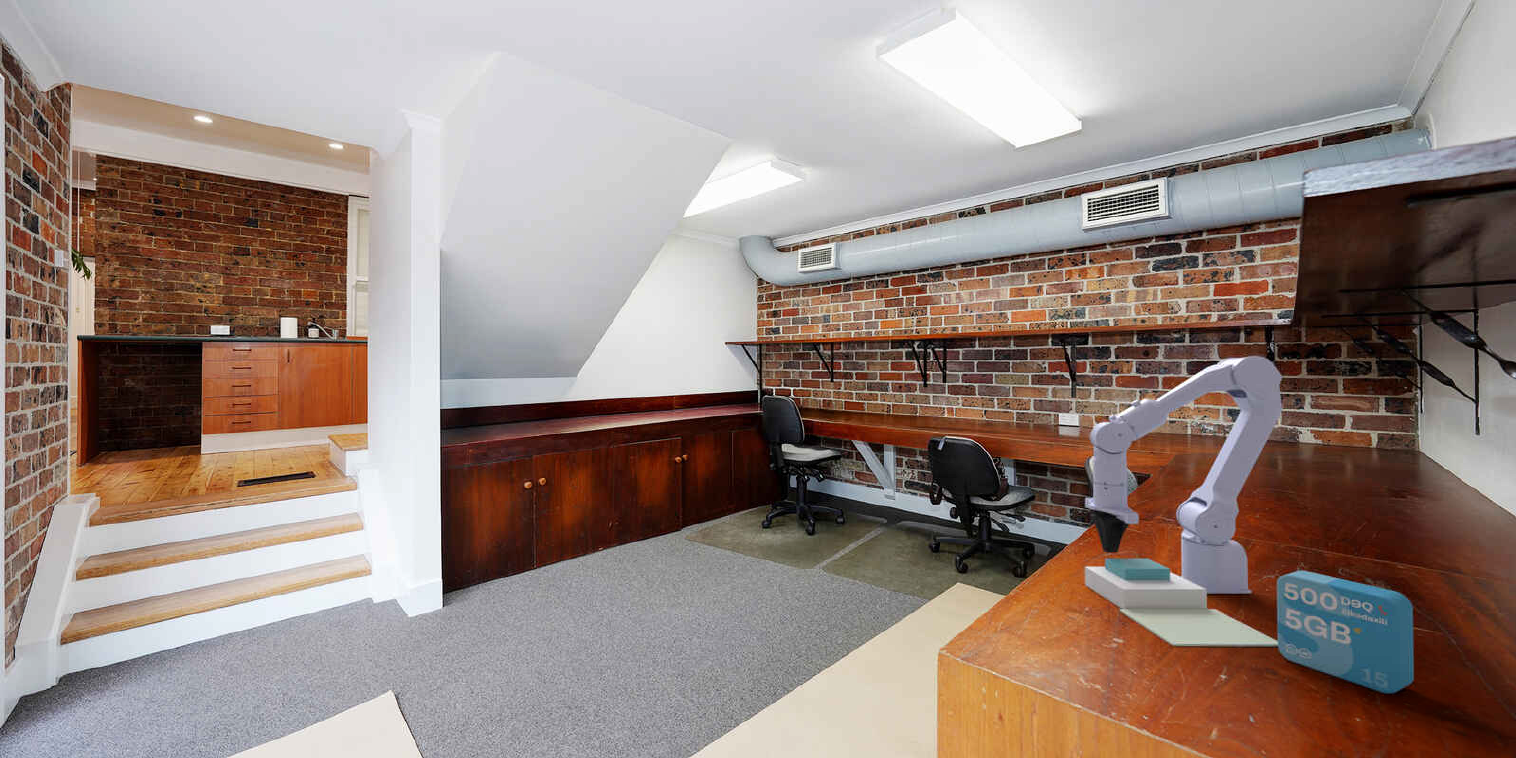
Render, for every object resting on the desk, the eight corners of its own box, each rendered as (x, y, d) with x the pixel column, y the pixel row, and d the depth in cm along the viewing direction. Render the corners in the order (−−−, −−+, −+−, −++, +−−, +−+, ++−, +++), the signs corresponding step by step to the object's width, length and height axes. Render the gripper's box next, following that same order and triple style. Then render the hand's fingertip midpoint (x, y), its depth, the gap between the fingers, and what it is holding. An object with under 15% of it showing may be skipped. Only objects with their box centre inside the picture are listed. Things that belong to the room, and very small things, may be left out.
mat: (1215, 611, 97) (1215, 609, 97) (1283, 646, 84) (1283, 644, 84) (1119, 610, 97) (1119, 609, 97) (1173, 646, 84) (1173, 644, 84)
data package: (1277, 657, 81) (1275, 572, 81) (1293, 650, 83) (1291, 567, 83) (1399, 699, 70) (1398, 601, 70) (1414, 690, 72) (1413, 594, 72)
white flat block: (1159, 585, 109) (1158, 566, 109) (1206, 609, 97) (1206, 589, 97) (1085, 584, 110) (1084, 566, 110) (1123, 609, 98) (1123, 589, 98)
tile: (1148, 569, 108) (1147, 558, 108) (1170, 580, 102) (1170, 568, 102) (1105, 569, 108) (1105, 558, 108) (1124, 580, 102) (1124, 568, 102)
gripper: (1070, 476, 120) (1070, 541, 120) (1111, 489, 106) (1111, 563, 106) (1104, 477, 120) (1104, 541, 120) (1149, 490, 106) (1150, 563, 106)
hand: (1110, 551), depth 113 cm, fingers closed
